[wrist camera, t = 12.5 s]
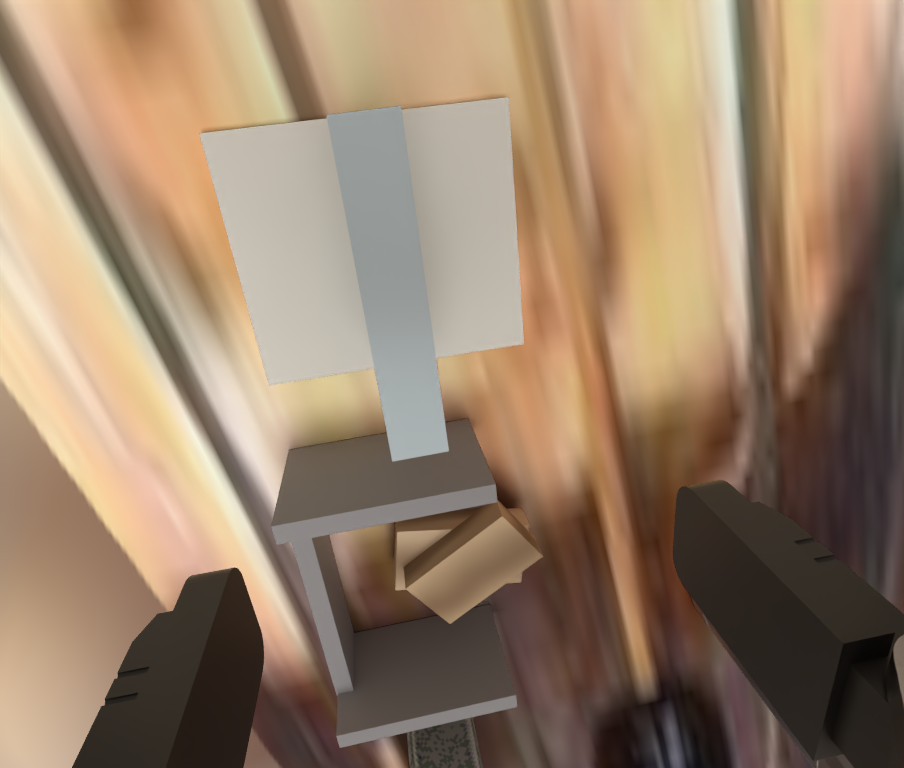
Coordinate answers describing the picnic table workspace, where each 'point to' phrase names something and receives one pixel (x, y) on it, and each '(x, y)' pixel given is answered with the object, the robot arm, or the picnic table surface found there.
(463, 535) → the offcut
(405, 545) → the offcut
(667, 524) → the picnic table surface
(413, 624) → the rack
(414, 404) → the grey flat slab
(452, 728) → the decorative stone tablet
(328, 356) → the mat
